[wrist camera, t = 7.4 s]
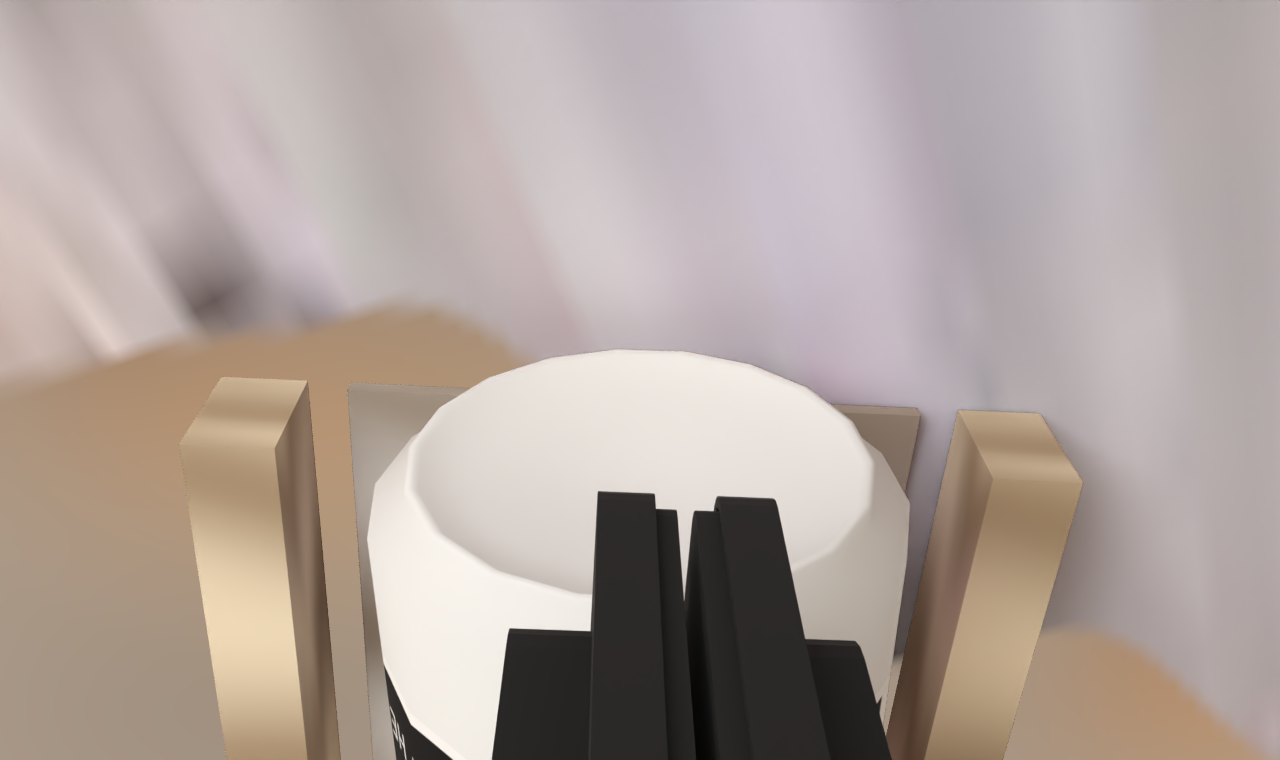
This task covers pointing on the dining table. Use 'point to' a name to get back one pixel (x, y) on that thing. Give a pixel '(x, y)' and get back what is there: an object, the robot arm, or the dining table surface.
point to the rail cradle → (391, 414)
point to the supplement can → (566, 517)
